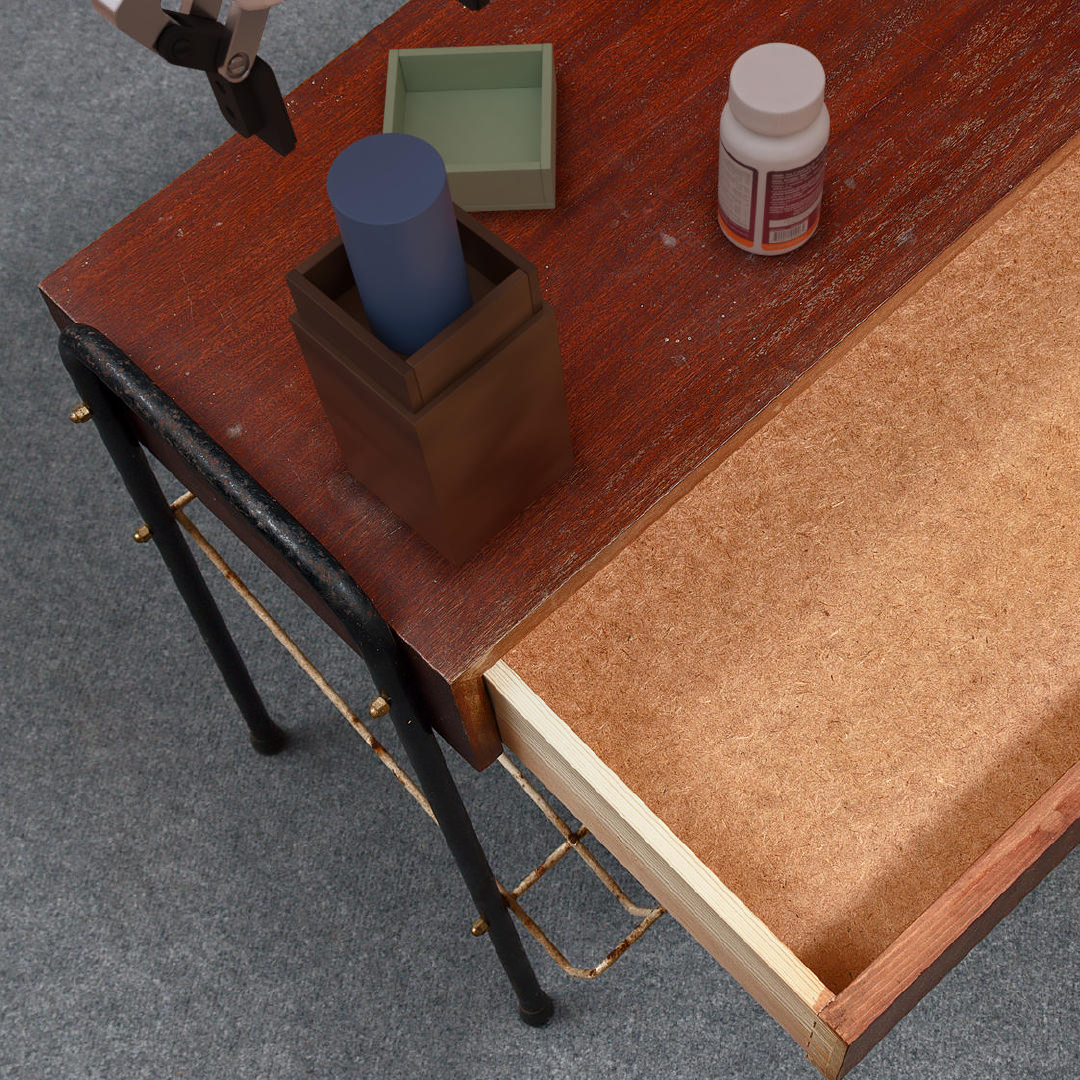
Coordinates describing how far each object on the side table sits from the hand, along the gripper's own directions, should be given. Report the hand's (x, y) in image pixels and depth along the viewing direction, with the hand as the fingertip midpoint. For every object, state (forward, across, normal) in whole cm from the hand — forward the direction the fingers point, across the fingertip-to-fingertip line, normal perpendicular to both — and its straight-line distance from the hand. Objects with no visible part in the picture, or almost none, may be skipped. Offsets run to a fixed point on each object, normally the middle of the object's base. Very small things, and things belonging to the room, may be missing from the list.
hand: (363, 61), depth 55 cm
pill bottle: (+30, -24, 0) cm, 38 cm away
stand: (+29, +1, 0) cm, 29 cm away
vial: (+15, 0, 0) cm, 15 cm away
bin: (+29, -16, -17) cm, 37 cm away
